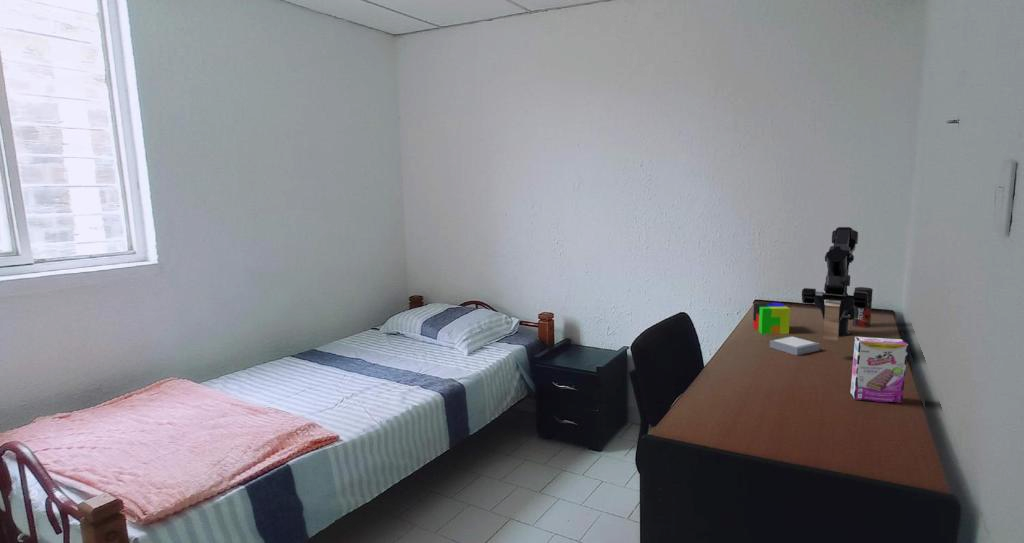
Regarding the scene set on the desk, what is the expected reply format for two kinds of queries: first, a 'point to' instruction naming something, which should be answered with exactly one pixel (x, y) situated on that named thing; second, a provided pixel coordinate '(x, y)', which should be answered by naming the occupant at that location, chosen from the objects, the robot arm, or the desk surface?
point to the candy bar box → (878, 369)
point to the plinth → (794, 345)
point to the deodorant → (863, 310)
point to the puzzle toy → (771, 318)
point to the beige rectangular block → (831, 320)
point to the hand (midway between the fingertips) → (831, 319)
